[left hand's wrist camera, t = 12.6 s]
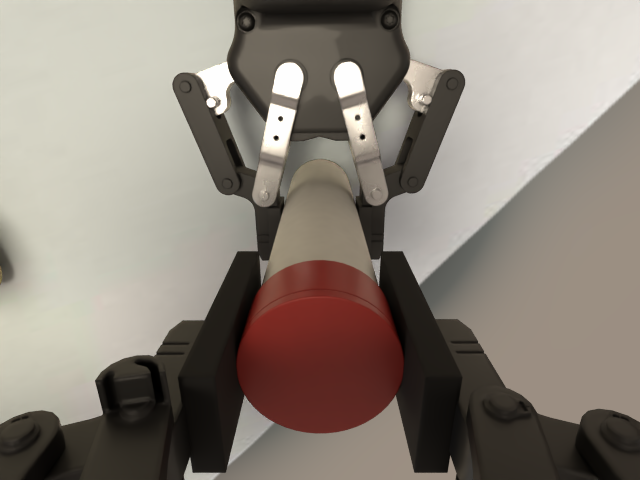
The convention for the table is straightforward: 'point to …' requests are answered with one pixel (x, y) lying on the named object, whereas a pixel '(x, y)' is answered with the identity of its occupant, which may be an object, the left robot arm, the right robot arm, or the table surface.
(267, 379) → the lid
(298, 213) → the white cylindrical bottle
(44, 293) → the table surface
